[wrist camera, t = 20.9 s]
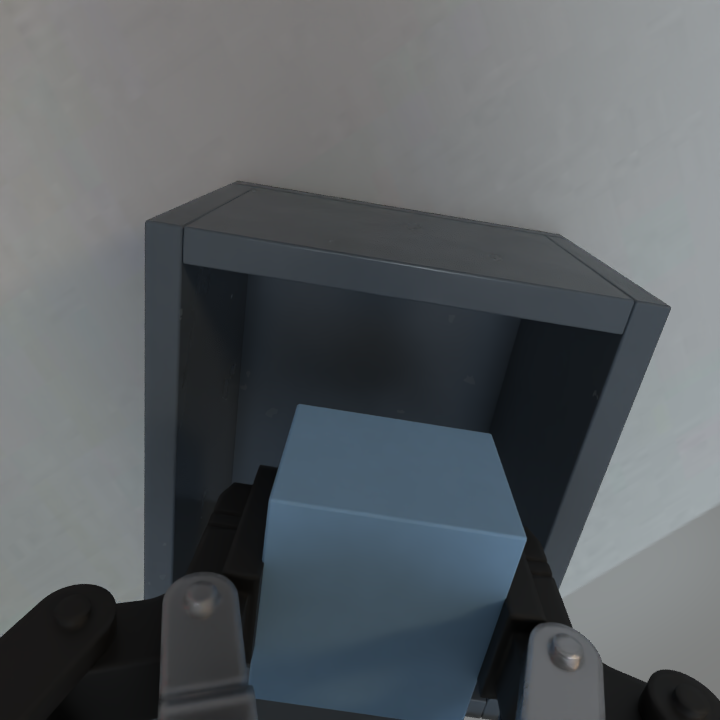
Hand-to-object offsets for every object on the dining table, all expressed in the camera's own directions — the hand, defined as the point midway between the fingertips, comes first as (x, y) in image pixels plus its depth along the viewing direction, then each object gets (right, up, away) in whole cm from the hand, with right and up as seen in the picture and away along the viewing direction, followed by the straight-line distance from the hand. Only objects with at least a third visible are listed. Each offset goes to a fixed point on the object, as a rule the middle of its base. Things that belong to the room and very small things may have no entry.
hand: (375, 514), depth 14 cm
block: (0, 0, 0) cm, 0 cm away
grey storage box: (0, +3, +13) cm, 14 cm away
